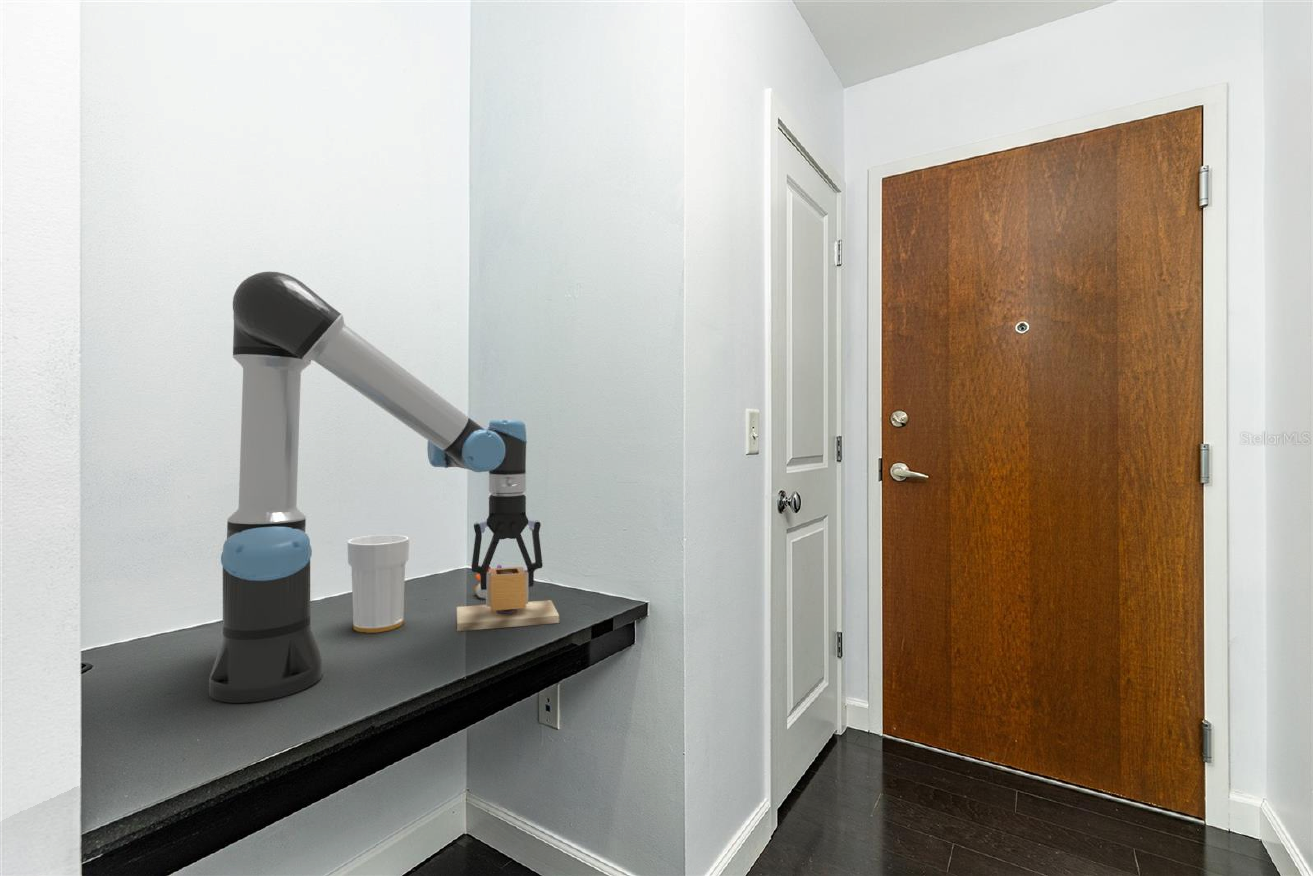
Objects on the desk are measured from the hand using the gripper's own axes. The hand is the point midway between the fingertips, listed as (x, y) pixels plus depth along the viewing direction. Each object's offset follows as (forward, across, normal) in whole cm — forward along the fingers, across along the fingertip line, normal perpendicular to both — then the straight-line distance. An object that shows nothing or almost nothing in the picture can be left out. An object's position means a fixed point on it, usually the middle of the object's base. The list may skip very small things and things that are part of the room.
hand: (507, 603), depth 133 cm
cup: (+3, -25, +2) cm, 25 cm away
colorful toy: (+4, -1, +20) cm, 20 cm away
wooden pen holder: (0, 0, 0) cm, 0 cm away
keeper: (+3, 0, 0) cm, 3 cm away
